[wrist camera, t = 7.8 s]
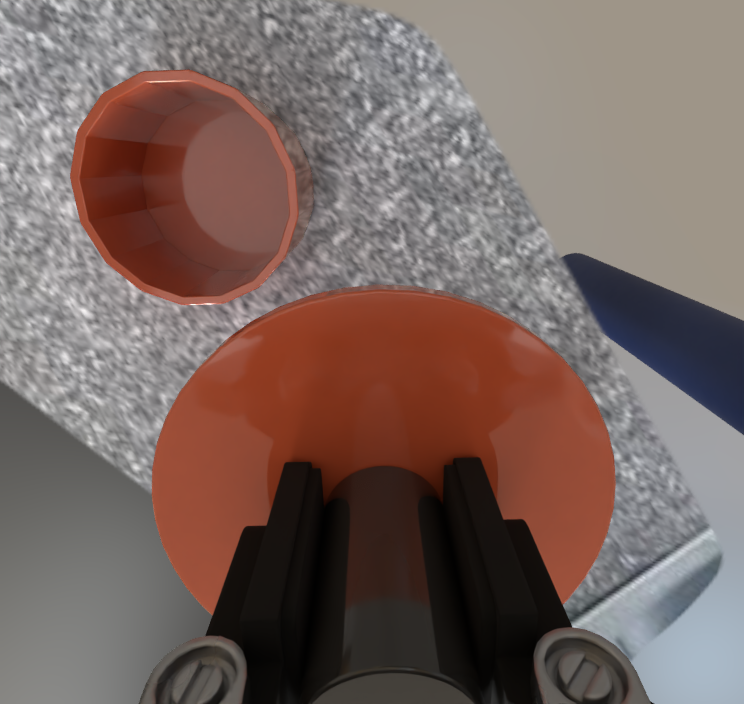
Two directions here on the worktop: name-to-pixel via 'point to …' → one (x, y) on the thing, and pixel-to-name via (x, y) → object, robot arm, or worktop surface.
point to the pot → (190, 186)
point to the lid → (383, 472)
